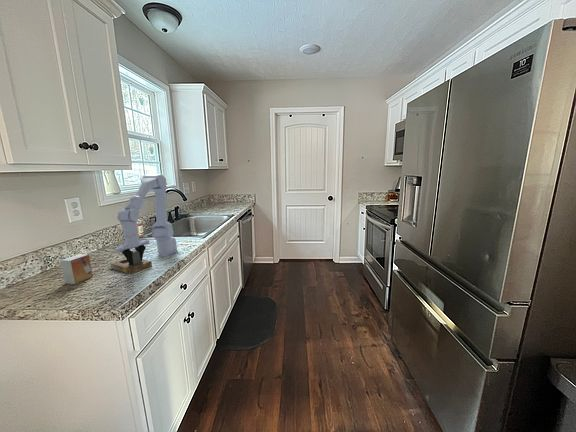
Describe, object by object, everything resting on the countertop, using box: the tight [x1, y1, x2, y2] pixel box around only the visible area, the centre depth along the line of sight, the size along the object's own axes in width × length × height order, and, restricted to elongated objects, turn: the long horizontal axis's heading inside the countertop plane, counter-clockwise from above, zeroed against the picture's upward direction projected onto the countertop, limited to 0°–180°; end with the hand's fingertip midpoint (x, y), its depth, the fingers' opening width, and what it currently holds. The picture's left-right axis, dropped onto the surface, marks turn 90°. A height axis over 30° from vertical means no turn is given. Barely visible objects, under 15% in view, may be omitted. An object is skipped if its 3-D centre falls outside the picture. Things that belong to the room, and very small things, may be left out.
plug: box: [129, 249, 141, 266], centre depth 114 cm, size 4×4×8 cm
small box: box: [59, 253, 94, 285], centre depth 105 cm, size 8×6×10 cm
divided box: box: [110, 258, 153, 276], centre depth 116 cm, size 10×16×3 cm, turn 62°
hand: (135, 262), depth 114 cm, fingers open, 4 cm apart
